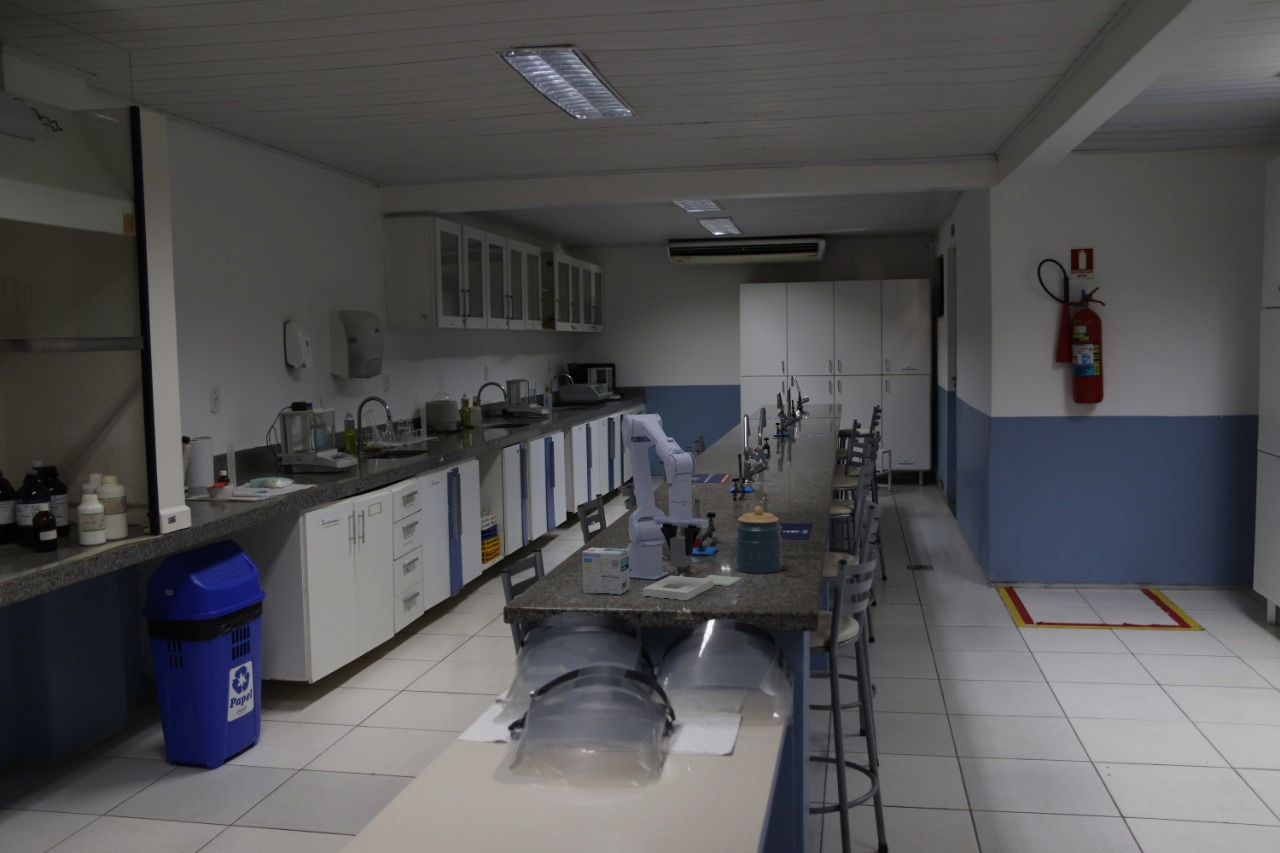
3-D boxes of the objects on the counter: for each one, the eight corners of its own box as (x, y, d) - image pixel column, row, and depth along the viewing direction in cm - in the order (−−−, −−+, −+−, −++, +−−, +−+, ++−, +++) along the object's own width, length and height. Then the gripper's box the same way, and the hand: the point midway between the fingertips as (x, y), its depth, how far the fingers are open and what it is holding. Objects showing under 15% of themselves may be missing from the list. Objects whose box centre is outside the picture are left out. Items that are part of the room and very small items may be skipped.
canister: (731, 573, 276) (730, 509, 275) (740, 563, 288) (739, 502, 287) (778, 575, 272) (777, 510, 271) (785, 565, 285) (785, 503, 283)
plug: (670, 565, 254) (670, 538, 253) (677, 562, 257) (677, 535, 257) (684, 567, 252) (684, 539, 251) (691, 564, 255) (691, 536, 255)
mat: (696, 583, 264) (696, 581, 264) (710, 576, 272) (710, 574, 272) (728, 586, 260) (728, 584, 260) (741, 579, 268) (741, 577, 268)
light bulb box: (630, 589, 258) (630, 548, 258) (621, 595, 252) (620, 553, 251) (592, 587, 262) (591, 546, 261) (582, 593, 256) (581, 551, 255)
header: (643, 596, 251) (642, 588, 251) (671, 582, 265) (671, 575, 265) (686, 600, 246) (686, 592, 245) (713, 587, 260) (713, 579, 260)
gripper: (647, 501, 253) (648, 555, 254) (699, 504, 246) (700, 559, 247) (660, 497, 259) (660, 550, 260) (711, 500, 253) (712, 554, 254)
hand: (681, 554), depth 254 cm, fingers closed on plug, 4 cm apart
